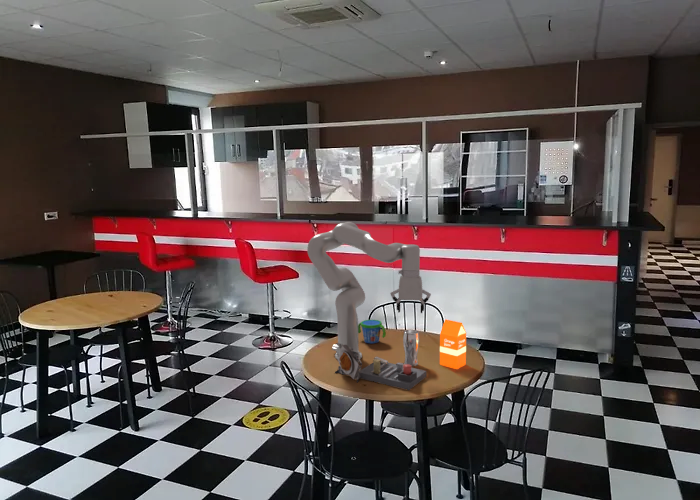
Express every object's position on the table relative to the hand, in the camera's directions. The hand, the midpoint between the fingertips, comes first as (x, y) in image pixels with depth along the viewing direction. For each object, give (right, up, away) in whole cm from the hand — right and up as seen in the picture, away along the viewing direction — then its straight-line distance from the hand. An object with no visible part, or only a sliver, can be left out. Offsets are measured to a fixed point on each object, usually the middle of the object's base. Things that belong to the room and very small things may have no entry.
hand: (410, 312), depth 227 cm
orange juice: (+19, -24, +5) cm, 31 cm away
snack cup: (-15, -20, +38) cm, 45 cm away
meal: (-27, -27, -7) cm, 39 cm away
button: (-3, -23, -16) cm, 28 cm away
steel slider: (-5, -24, -9) cm, 26 cm away
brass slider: (-15, -24, -11) cm, 30 cm away
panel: (-9, -26, -8) cm, 29 cm away
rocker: (-13, -21, +1) cm, 25 cm away
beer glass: (+1, -24, +7) cm, 25 cm away
